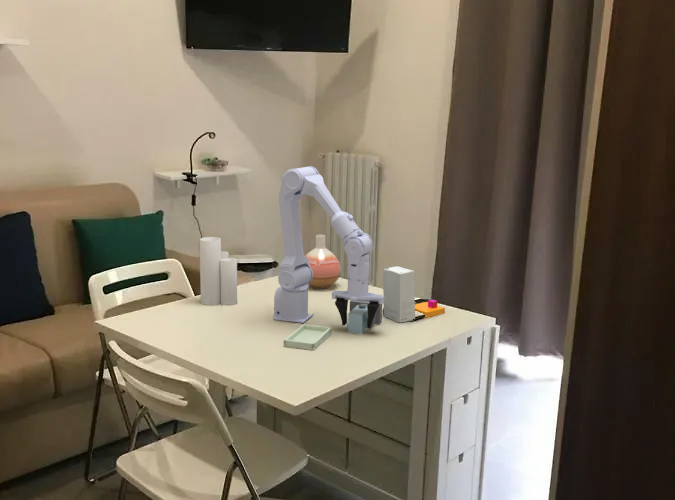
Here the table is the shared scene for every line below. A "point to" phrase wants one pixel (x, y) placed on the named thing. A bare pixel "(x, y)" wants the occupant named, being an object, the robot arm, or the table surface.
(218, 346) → the table surface
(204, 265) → the vase
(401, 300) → the skincare box
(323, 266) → the vase
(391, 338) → the table surface
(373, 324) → the bay
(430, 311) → the orange flat block
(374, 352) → the table surface
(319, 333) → the tray
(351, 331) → the tall blue-grey prism
